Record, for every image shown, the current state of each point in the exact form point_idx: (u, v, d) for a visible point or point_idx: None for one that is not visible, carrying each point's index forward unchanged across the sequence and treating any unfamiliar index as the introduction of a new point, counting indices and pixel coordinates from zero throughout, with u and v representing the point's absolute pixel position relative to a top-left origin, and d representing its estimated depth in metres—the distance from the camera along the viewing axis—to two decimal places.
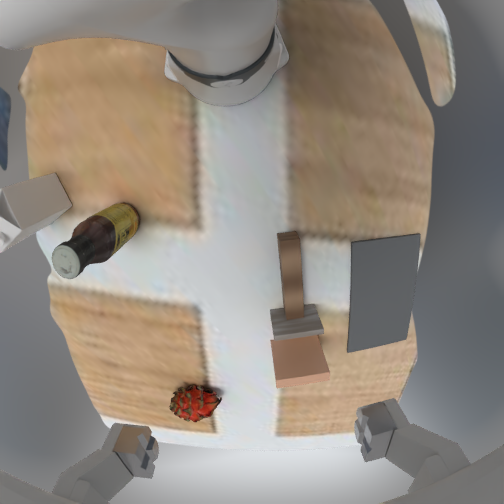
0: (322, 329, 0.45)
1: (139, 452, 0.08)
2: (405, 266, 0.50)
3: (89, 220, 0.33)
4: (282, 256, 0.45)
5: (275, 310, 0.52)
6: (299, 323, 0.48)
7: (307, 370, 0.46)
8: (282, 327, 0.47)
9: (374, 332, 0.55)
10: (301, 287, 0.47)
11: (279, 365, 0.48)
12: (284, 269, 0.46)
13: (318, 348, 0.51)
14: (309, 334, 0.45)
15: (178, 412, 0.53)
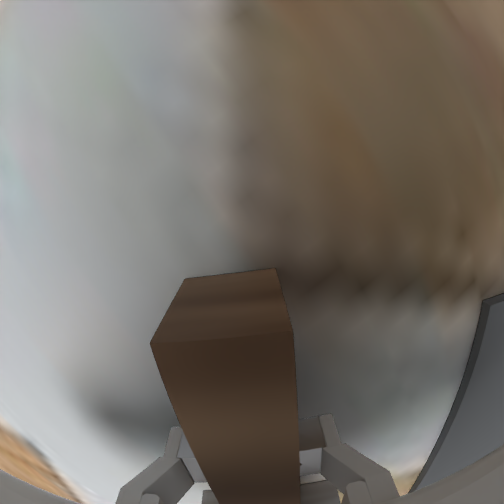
0: None
1: None
2: None
3: None
4: (185, 420, 0.06)
5: None
6: None
7: None
8: None
9: None
10: (294, 502, 0.08)
11: None
12: (209, 464, 0.07)
13: None
14: None
15: None
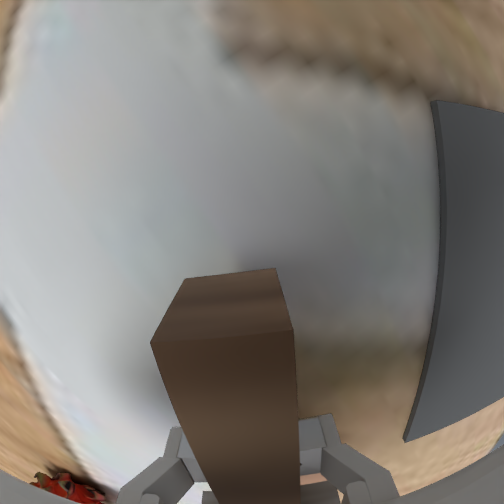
0: None
1: None
2: None
3: None
4: (185, 420, 0.06)
5: None
6: None
7: None
8: None
9: (472, 388, 0.16)
10: (295, 502, 0.08)
11: None
12: (209, 464, 0.07)
13: None
14: None
15: None
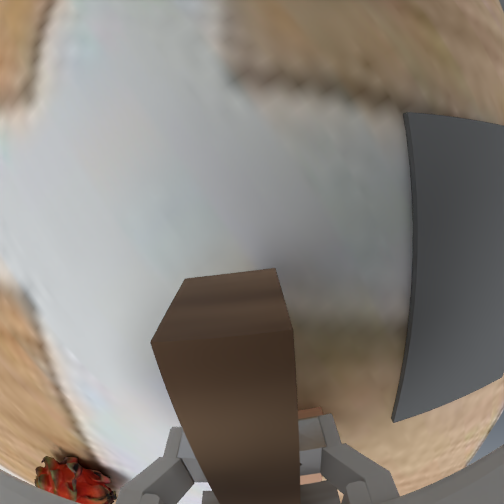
0: None
1: None
2: None
3: None
4: (185, 419, 0.06)
5: None
6: None
7: None
8: None
9: (455, 371, 0.19)
10: (295, 502, 0.08)
11: None
12: (209, 464, 0.07)
13: None
14: None
15: None
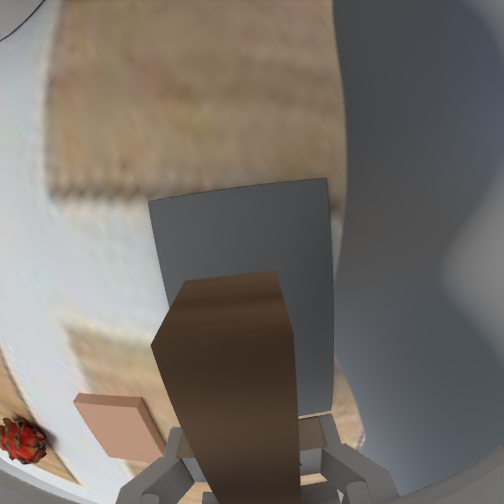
0: None
1: None
2: (296, 257, 0.23)
3: None
4: (185, 422, 0.06)
5: None
6: None
7: (139, 456, 0.29)
8: None
9: None
10: (295, 503, 0.08)
11: (103, 442, 0.29)
12: (209, 466, 0.07)
13: (145, 433, 0.28)
14: None
15: None
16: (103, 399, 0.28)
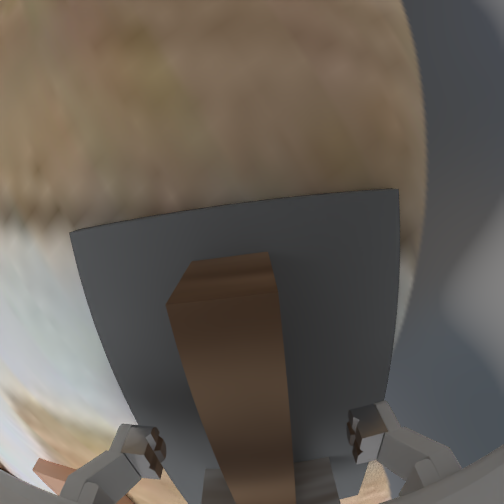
0: None
1: (148, 453, 0.08)
2: (337, 332, 0.12)
3: None
4: (191, 375, 0.08)
5: (218, 475, 0.15)
6: None
7: None
8: None
9: None
10: (288, 467, 0.10)
11: None
12: (211, 422, 0.09)
13: None
14: None
15: None
16: (65, 473, 0.16)
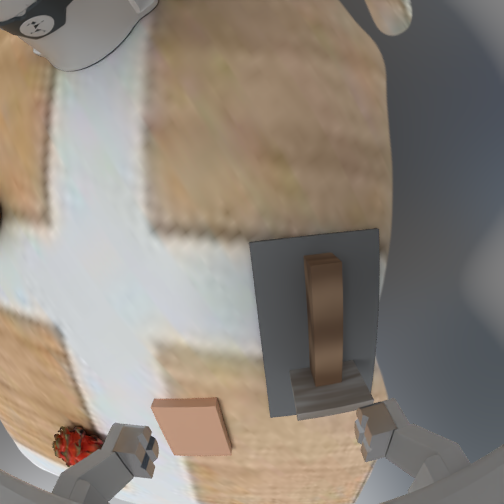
0: (371, 400, 0.26)
1: (139, 452, 0.08)
2: (355, 285, 0.31)
3: None
4: (313, 290, 0.27)
5: (297, 371, 0.33)
6: (334, 391, 0.28)
7: (205, 451, 0.36)
8: (310, 399, 0.28)
9: None
10: (341, 338, 0.28)
11: (173, 442, 0.36)
12: (316, 311, 0.28)
13: (218, 429, 0.35)
14: (351, 408, 0.26)
15: (56, 453, 0.31)
16: (181, 402, 0.35)
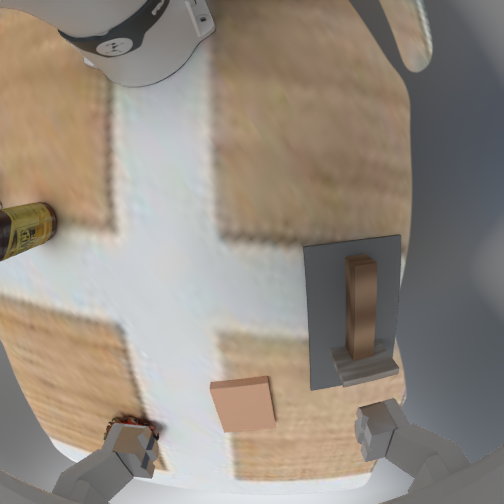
0: (397, 369, 0.34)
1: (139, 452, 0.08)
2: (382, 279, 0.39)
3: None
4: (356, 284, 0.34)
5: (336, 349, 0.41)
6: (368, 363, 0.36)
7: (254, 425, 0.44)
8: (351, 370, 0.36)
9: None
10: (374, 321, 0.36)
11: (225, 419, 0.44)
12: (357, 300, 0.35)
13: (267, 403, 0.43)
14: (382, 375, 0.34)
15: None
16: (236, 382, 0.43)
